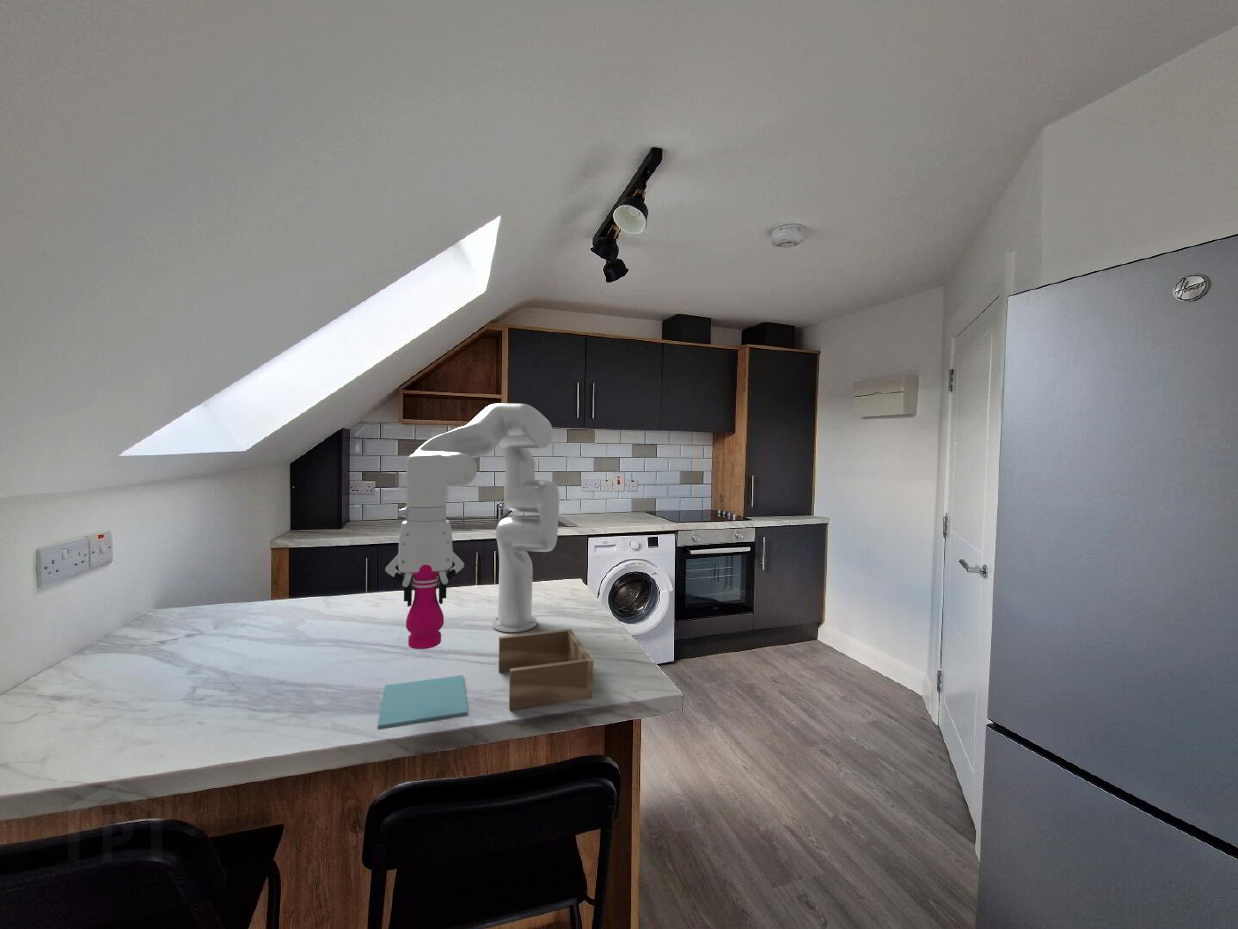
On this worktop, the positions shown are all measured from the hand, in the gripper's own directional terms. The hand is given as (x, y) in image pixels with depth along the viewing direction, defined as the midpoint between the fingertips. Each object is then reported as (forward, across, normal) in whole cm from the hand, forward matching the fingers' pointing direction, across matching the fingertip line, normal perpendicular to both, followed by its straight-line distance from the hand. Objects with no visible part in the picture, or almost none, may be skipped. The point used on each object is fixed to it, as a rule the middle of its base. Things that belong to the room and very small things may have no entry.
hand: (425, 602), depth 102 cm
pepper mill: (+9, 0, 0) cm, 9 cm away
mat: (+20, 0, 0) cm, 20 cm away
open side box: (+20, +24, 0) cm, 32 cm away
